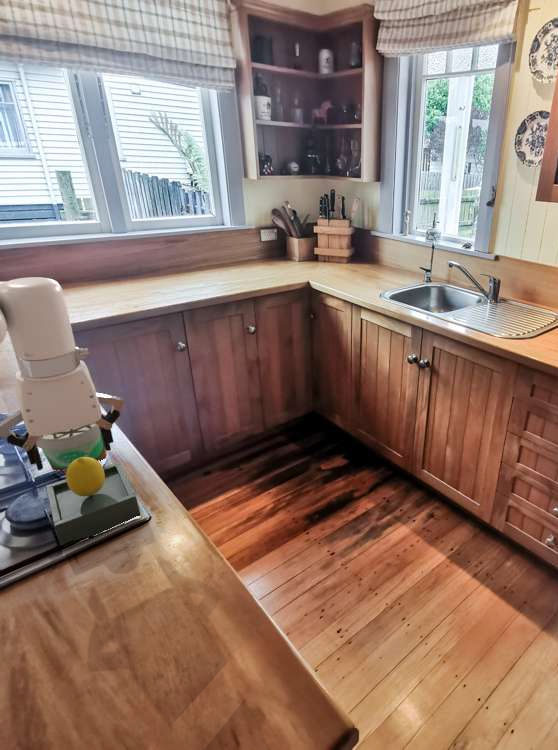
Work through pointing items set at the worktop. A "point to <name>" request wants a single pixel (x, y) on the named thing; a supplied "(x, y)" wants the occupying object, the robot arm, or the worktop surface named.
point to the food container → (72, 446)
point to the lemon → (85, 476)
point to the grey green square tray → (92, 506)
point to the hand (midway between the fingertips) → (74, 455)
